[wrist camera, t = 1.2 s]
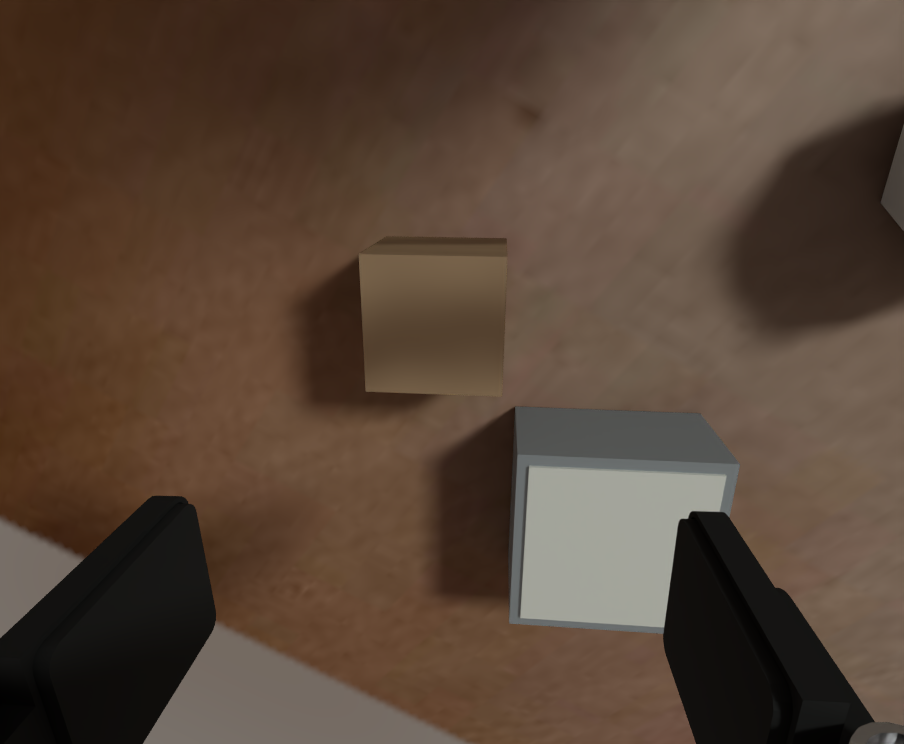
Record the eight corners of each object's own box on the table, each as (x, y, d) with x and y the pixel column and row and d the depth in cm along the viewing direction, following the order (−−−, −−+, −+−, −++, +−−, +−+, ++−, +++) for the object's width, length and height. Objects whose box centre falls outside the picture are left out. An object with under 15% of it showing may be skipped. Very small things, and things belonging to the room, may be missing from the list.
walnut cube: (386, 236, 26) (358, 254, 21) (506, 238, 26) (507, 256, 21) (390, 349, 28) (365, 391, 23) (502, 353, 28) (502, 396, 23)
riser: (515, 406, 29) (517, 456, 24) (700, 413, 28) (741, 466, 23) (508, 555, 32) (509, 625, 27) (674, 564, 31) (706, 638, 26)
